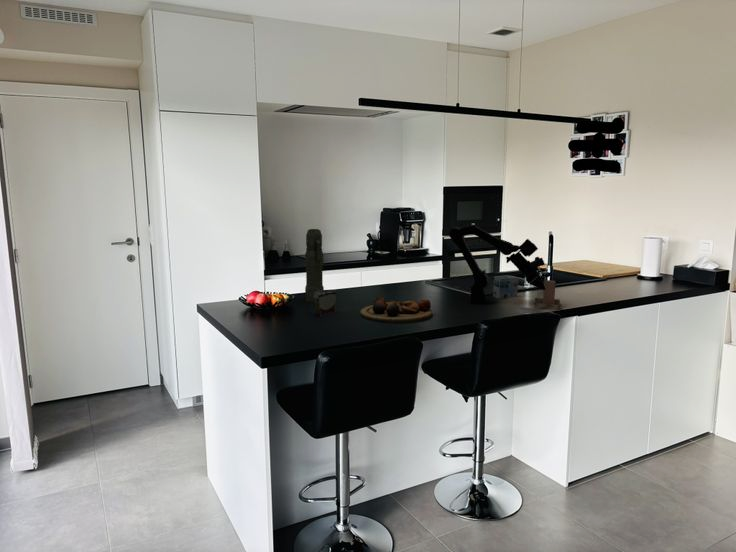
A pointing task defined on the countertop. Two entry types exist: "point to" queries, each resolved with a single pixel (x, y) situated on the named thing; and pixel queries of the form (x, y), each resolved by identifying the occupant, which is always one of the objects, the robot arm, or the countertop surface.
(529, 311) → the trivet
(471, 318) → the countertop surface
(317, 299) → the food container
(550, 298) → the block
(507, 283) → the light bulb box
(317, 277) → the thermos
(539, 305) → the sleeve
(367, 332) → the countertop surface
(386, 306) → the wooden plate with food
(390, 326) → the countertop surface
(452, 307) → the countertop surface
